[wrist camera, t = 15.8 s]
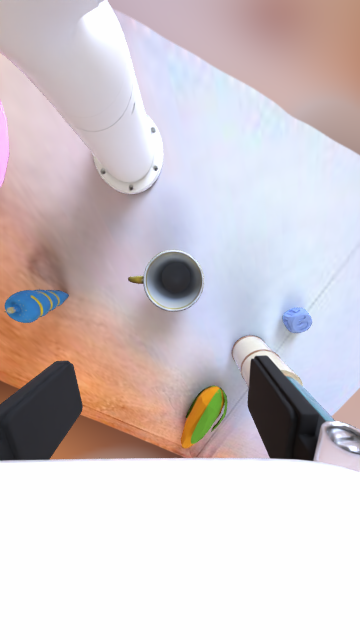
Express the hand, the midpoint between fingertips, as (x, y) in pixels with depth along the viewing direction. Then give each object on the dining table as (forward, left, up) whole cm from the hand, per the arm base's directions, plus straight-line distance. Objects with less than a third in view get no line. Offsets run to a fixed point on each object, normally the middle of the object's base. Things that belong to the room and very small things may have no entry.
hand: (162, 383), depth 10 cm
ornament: (0, -25, -34) cm, 42 cm away
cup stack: (+15, +16, -33) cm, 40 cm away
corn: (+32, +4, -34) cm, 46 cm away
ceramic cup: (-3, -2, -34) cm, 34 cm away
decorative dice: (+7, +25, -34) cm, 42 cm away
